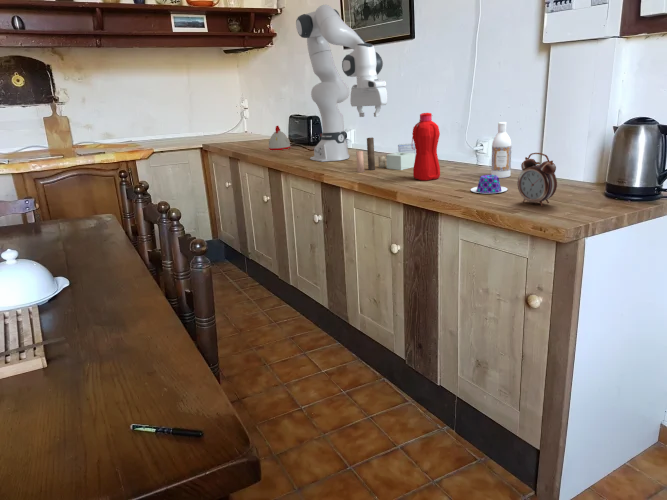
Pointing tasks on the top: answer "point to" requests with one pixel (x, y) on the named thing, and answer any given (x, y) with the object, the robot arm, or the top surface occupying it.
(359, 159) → the medium pin
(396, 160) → the hole block
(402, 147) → the medicine box
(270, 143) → the kitchen timer
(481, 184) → the pudding
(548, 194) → the alarm clock
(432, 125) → the water bottle
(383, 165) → the short pin
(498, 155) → the bath foam
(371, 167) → the long pin
